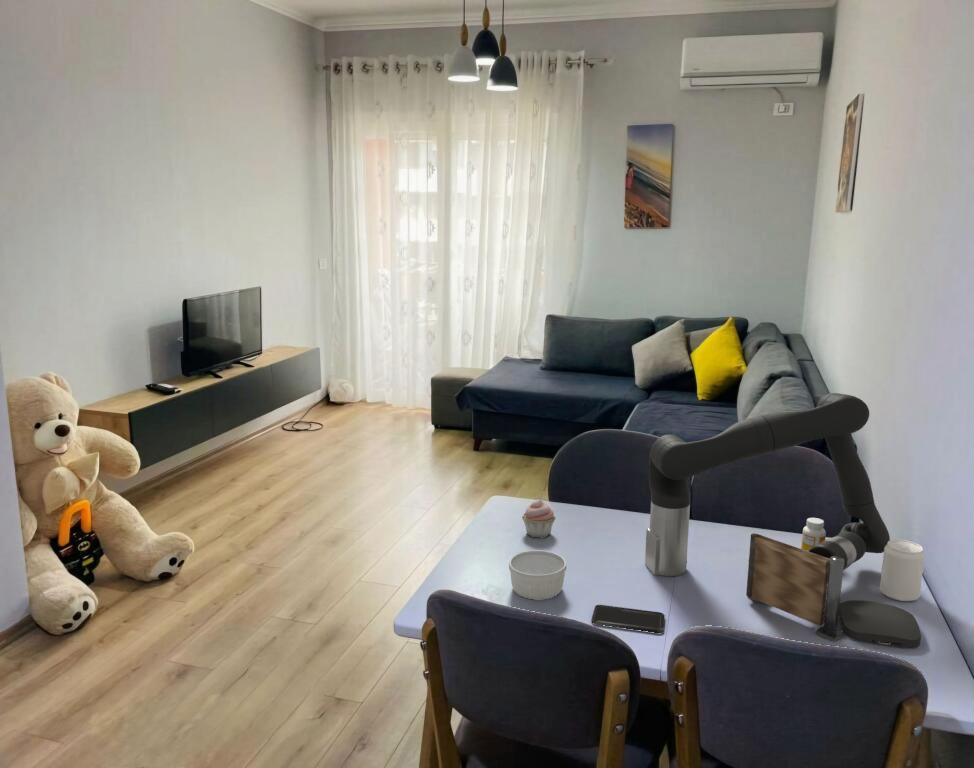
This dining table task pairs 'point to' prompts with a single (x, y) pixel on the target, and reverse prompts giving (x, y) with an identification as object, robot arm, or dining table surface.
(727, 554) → the dining table surface
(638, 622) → the phone
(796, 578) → the wooden gate
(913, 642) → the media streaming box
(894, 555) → the beverage can
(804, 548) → the supplement bottle
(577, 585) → the dining table surface
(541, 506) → the cupcake
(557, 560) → the ramekin
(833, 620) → the gate post
